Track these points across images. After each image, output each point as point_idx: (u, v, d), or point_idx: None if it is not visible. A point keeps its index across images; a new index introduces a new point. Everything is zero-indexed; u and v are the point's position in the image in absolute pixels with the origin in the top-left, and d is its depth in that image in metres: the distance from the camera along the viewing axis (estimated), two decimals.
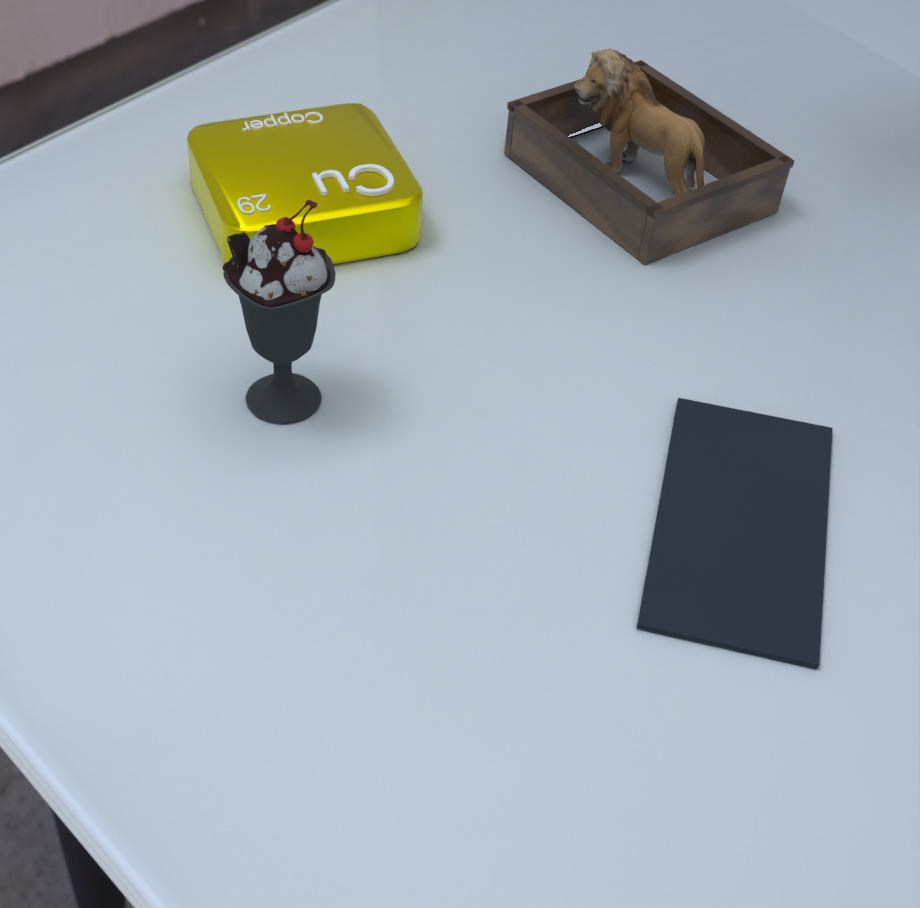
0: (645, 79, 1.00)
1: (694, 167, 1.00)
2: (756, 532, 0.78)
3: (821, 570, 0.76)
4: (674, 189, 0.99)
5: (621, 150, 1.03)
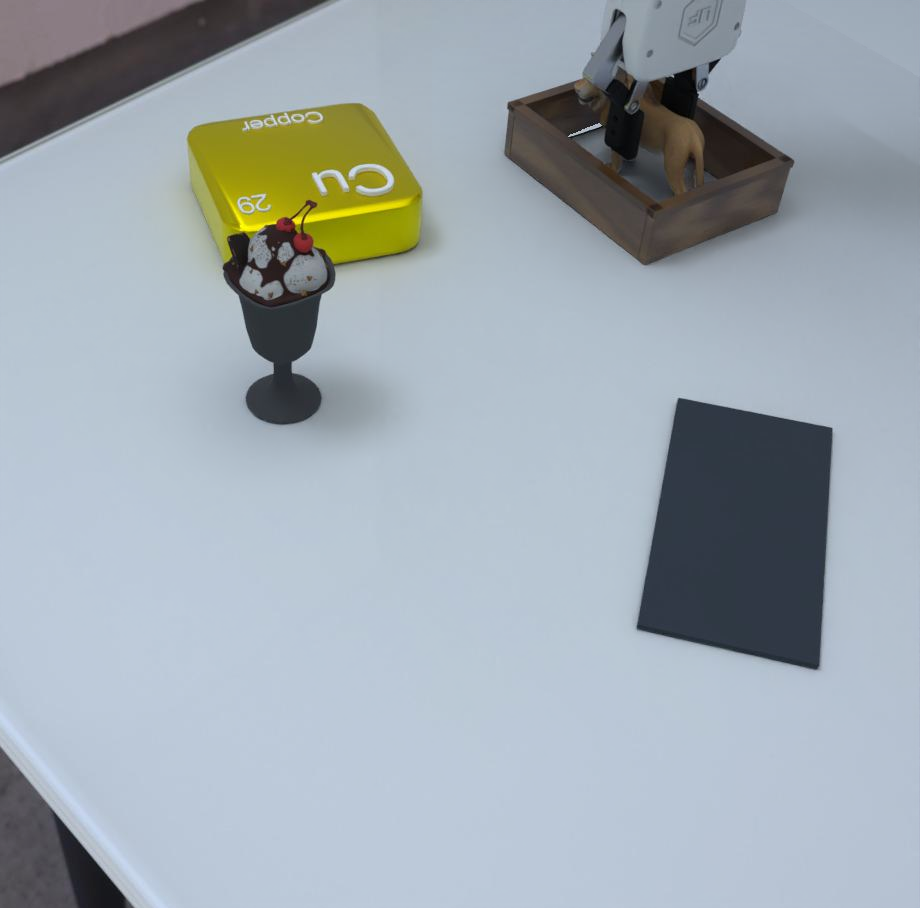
0: None
1: (694, 167, 1.00)
2: (756, 532, 0.78)
3: (821, 570, 0.76)
4: (674, 189, 0.99)
5: None
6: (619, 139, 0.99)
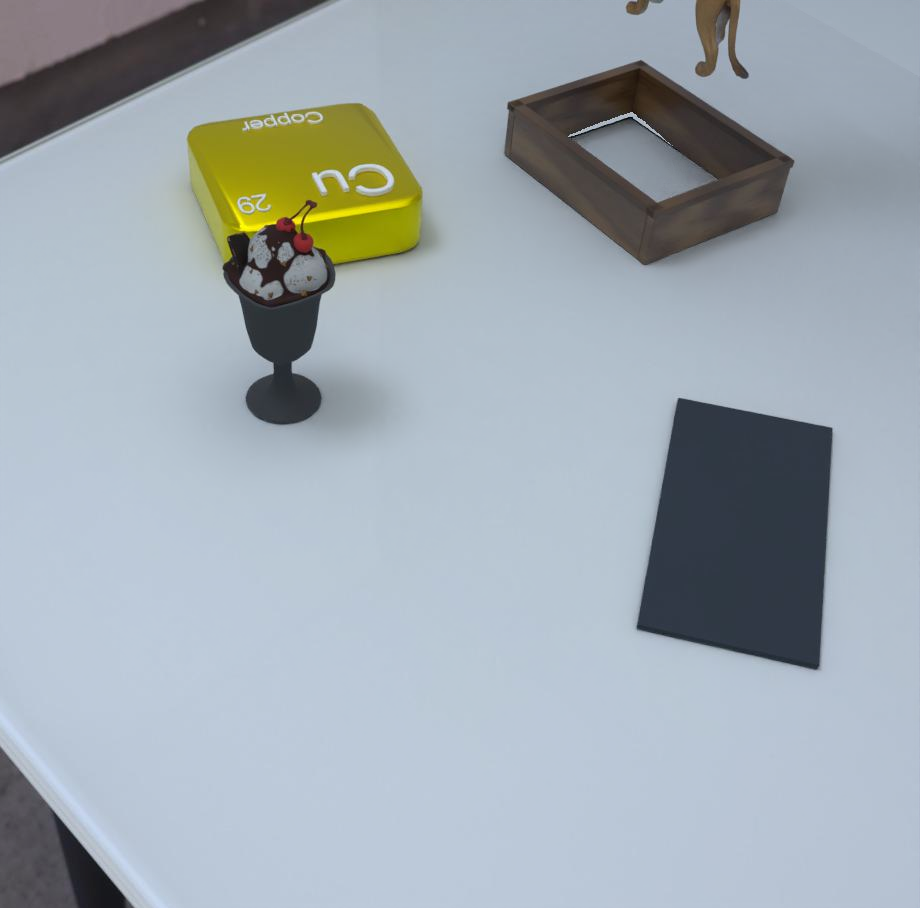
0: None
1: (727, 17, 0.91)
2: (756, 532, 0.78)
3: (821, 570, 0.76)
4: (703, 39, 0.91)
5: None
6: None
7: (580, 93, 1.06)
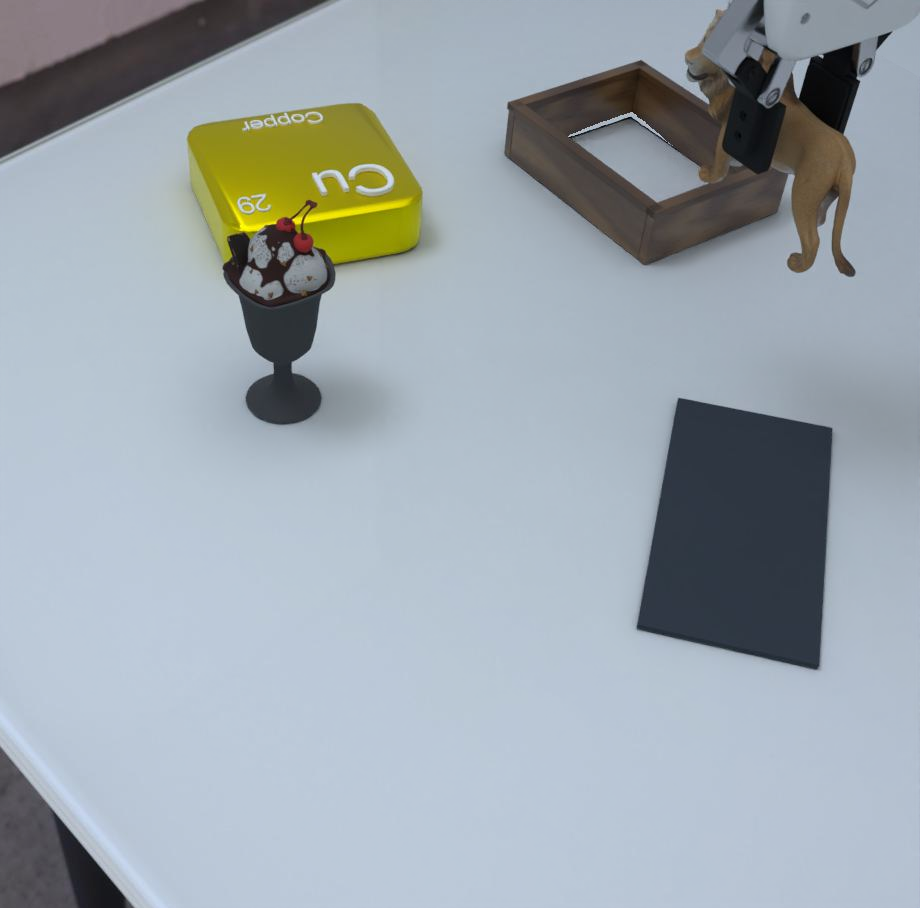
0: None
1: (831, 200, 0.71)
2: (756, 532, 0.78)
3: (821, 570, 0.76)
4: (800, 228, 0.71)
5: None
6: (746, 144, 0.69)
7: (580, 93, 1.06)
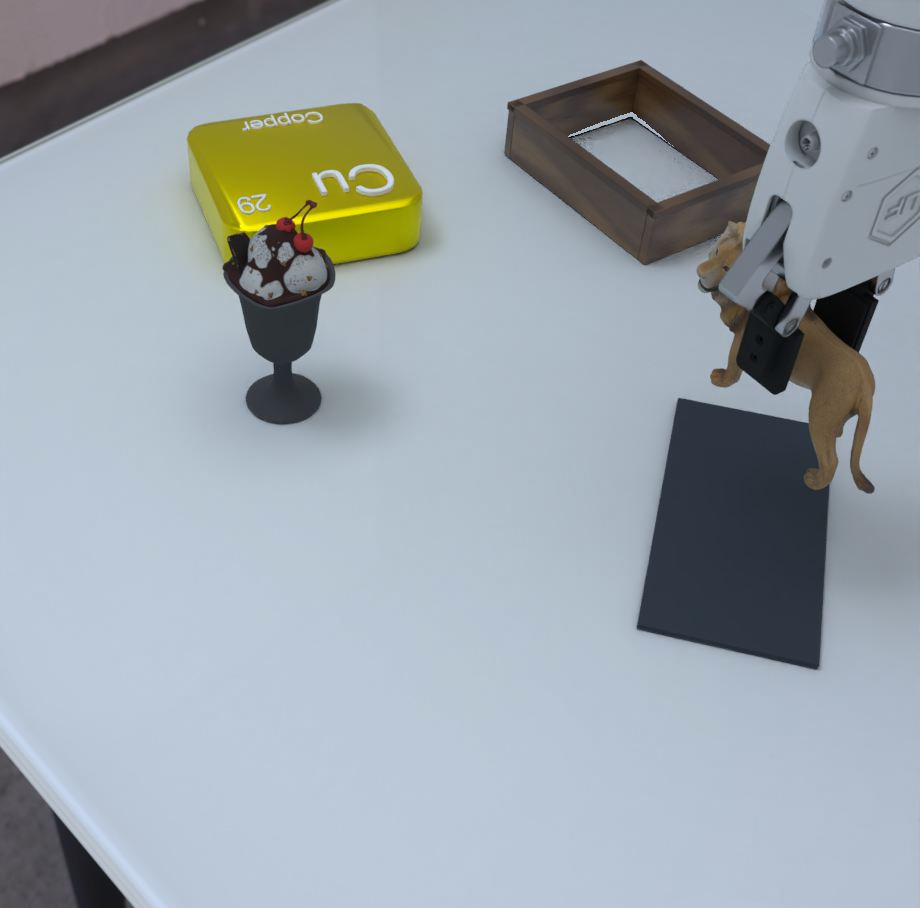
0: None
1: (849, 417, 0.69)
2: (756, 532, 0.78)
3: (821, 570, 0.76)
4: (817, 448, 0.69)
5: None
6: (763, 367, 0.67)
7: (580, 93, 1.06)
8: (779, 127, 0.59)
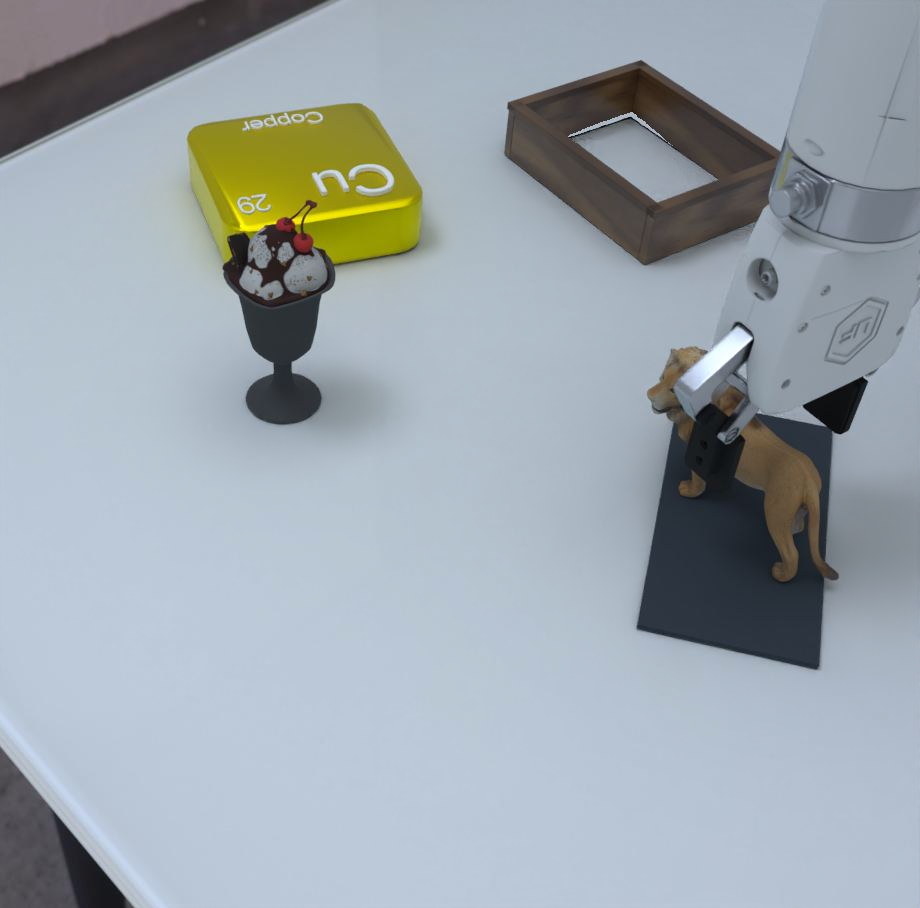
0: None
1: (805, 511, 0.75)
2: (756, 532, 0.78)
3: None
4: (777, 543, 0.74)
5: None
6: (708, 469, 0.71)
7: (580, 93, 1.06)
8: (741, 261, 0.64)
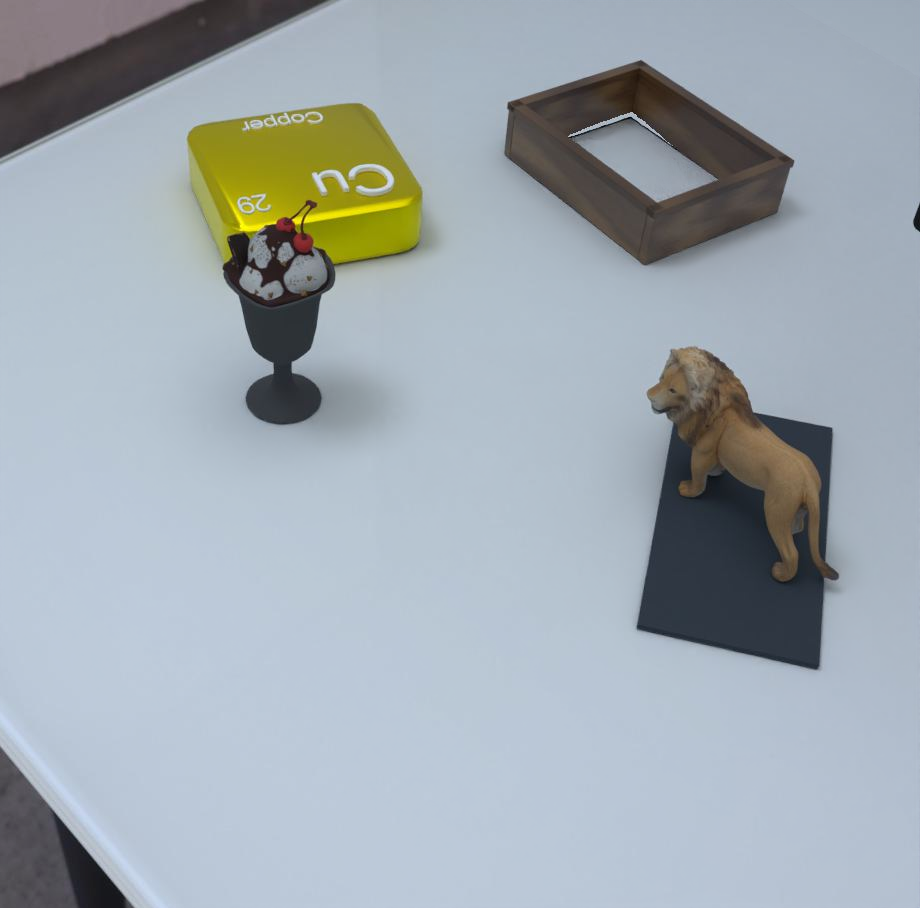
0: (742, 391, 0.75)
1: (804, 511, 0.75)
2: (756, 532, 0.78)
3: None
4: (777, 543, 0.74)
5: (705, 473, 0.78)
6: None
7: (580, 93, 1.06)
8: None
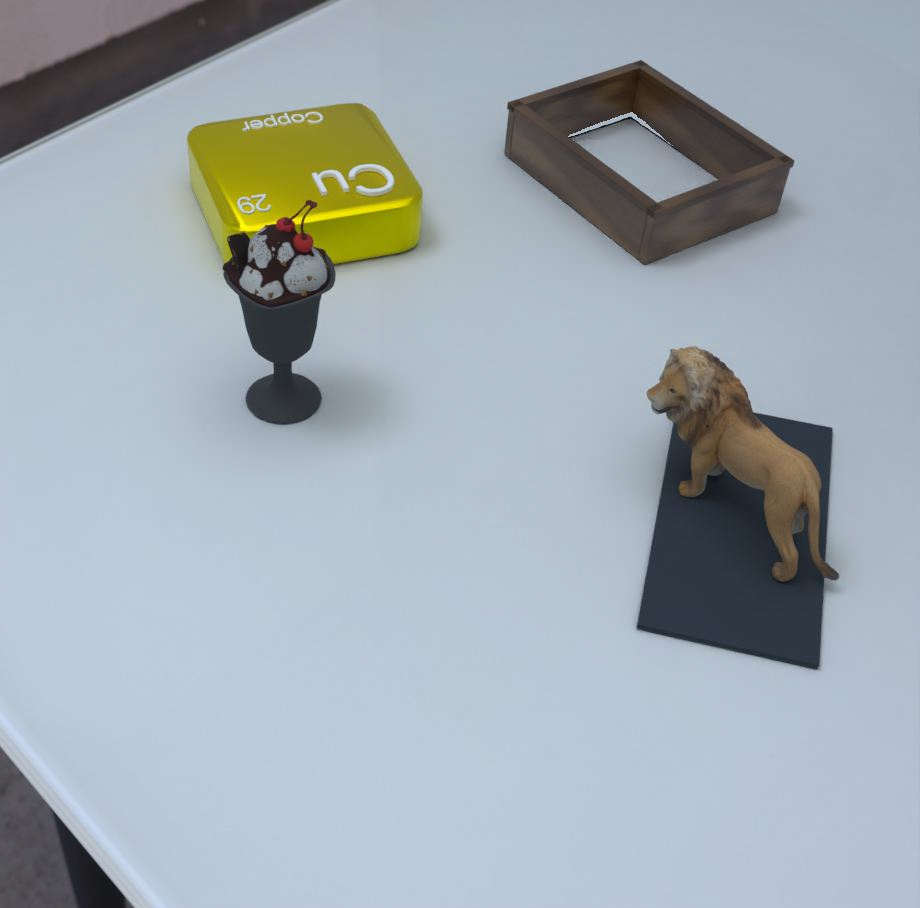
0: (742, 391, 0.75)
1: (804, 511, 0.75)
2: (756, 532, 0.78)
3: None
4: (777, 543, 0.74)
5: (705, 473, 0.78)
6: None
7: (580, 93, 1.06)
8: None
